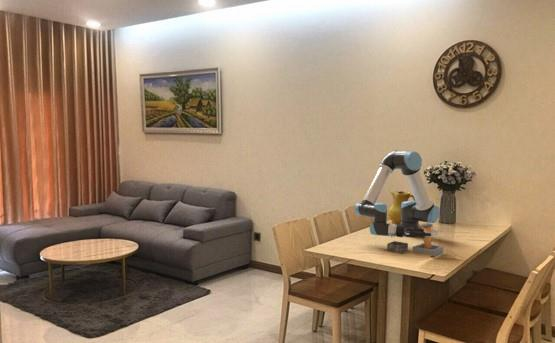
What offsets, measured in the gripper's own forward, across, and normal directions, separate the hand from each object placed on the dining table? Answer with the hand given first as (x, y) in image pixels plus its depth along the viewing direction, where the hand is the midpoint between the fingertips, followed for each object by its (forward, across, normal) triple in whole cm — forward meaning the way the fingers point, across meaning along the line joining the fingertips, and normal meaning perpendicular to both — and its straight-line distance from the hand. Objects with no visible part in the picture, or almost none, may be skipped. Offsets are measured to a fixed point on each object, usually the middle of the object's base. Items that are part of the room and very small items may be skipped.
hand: (437, 233), depth 261 cm
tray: (-5, 0, -12) cm, 13 cm away
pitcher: (-34, -83, -12) cm, 90 cm away
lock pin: (-5, 0, -11) cm, 12 cm away
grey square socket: (-22, +5, -12) cm, 25 cm away
